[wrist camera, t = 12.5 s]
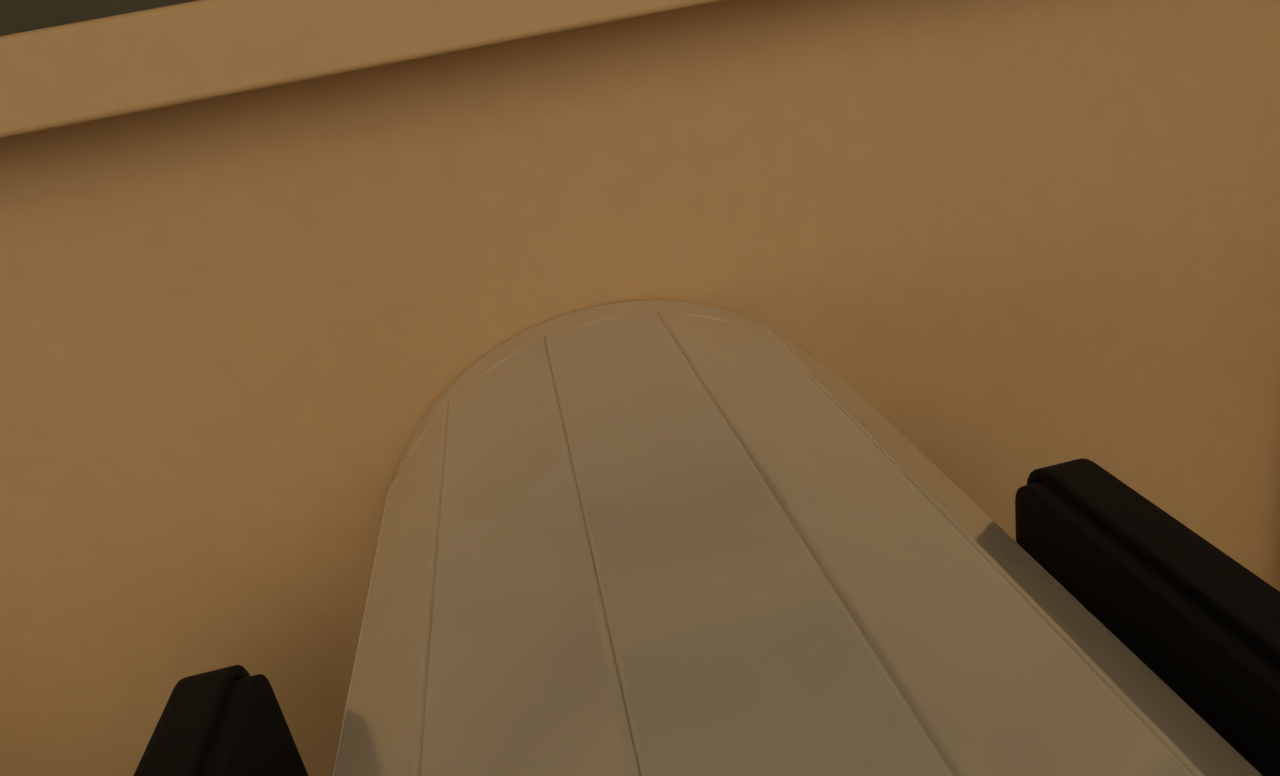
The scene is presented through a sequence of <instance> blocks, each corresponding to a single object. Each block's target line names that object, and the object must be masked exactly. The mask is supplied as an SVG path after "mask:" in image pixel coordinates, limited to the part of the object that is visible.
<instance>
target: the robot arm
mask: <svg viewBox="0 0 1280 776" xmlns="http://www.w3.org/2000/svg"><path fill="white" fill-rule="evenodd" d="M1015 522H1016V543H1017V544H1019V545H1020V546H1021V547H1022V548H1023V549H1024V550H1025V551H1026V552H1027V553H1028V554H1029V555H1030V556H1031V557H1032V558H1033V559H1034V560H1035V561H1036V562H1038V563H1039V564H1040V565H1041V566H1042V567H1043V568H1044V569H1045V570H1046V571H1047V572H1048V573H1049V574H1050V575H1051V576H1052V577H1053V578H1054V579H1055V580H1057V581H1058V582H1059V583H1060V584H1061V585H1062V586H1063V587H1064V588H1065V589H1066V590H1067V591H1068V592H1069V593H1070V594H1071V595H1072V596H1073V597H1074V598H1076V599H1077V600H1078V601H1079V602H1080V603H1081V604H1082V605H1083V606H1084V607H1085V608H1086V609H1087V610H1088V611H1089V612H1090V613H1091V614H1092V615H1093V616H1095V617H1096V618H1097V619H1098V620H1099V621H1100V622H1101V623H1102V624H1103V625H1104V626H1105V627H1106V628H1107V629H1108V630H1109V631H1110V632H1111V633H1112V634H1114V635H1115V636H1116V637H1117V638H1118V639H1119V640H1120V641H1121V642H1122V643H1123V644H1124V645H1125V646H1126V647H1127V648H1128V649H1129V650H1130V651H1131V652H1133V653H1134V654H1135V655H1136V656H1137V657H1138V658H1139V659H1140V660H1141V661H1142V662H1143V663H1144V664H1145V665H1146V666H1147V667H1148V668H1149V669H1150V670H1152V671H1153V672H1154V673H1155V674H1156V675H1157V676H1158V677H1159V678H1160V679H1161V680H1162V681H1163V682H1164V683H1165V684H1166V685H1167V686H1168V687H1169V688H1171V689H1172V690H1173V691H1174V692H1175V693H1176V694H1177V695H1178V696H1179V697H1180V698H1181V699H1182V700H1183V701H1184V702H1185V703H1186V704H1187V705H1188V706H1190V707H1191V708H1192V709H1193V710H1194V711H1195V712H1196V713H1197V714H1198V715H1199V716H1200V717H1201V718H1202V719H1203V720H1204V721H1205V722H1206V723H1207V724H1209V725H1210V726H1211V727H1212V728H1213V729H1214V730H1215V731H1216V732H1217V733H1218V734H1219V735H1220V736H1221V737H1222V738H1223V739H1224V740H1225V741H1226V742H1228V743H1229V744H1230V745H1231V746H1232V747H1233V748H1234V749H1235V750H1236V751H1237V752H1238V753H1239V754H1240V755H1241V756H1242V757H1243V758H1244V759H1245V760H1247V761H1248V762H1249V763H1250V764H1251V765H1252V766H1253V767H1254V768H1255V769H1256V770H1257V771H1258V772H1259V773H1260V774H1261V775H1262V776H1280V591H1278V590H1277V589H1275V588H1274V587H1272V586H1271V585H1270V584H1268V583H1267V582H1265V581H1264V580H1262V579H1261V578H1259V577H1258V576H1257V575H1255V574H1254V573H1252V572H1251V571H1249V570H1248V569H1247V568H1245V567H1244V566H1242V565H1241V564H1239V563H1238V562H1237V561H1235V560H1234V559H1232V558H1231V557H1229V556H1228V555H1226V554H1225V553H1224V552H1222V551H1221V550H1219V549H1218V548H1216V547H1215V546H1214V545H1212V544H1211V543H1209V542H1208V541H1206V540H1205V539H1204V538H1202V537H1201V536H1199V535H1198V534H1196V533H1195V532H1193V531H1192V530H1191V529H1189V528H1188V527H1186V526H1185V525H1183V524H1182V523H1181V522H1179V521H1178V520H1176V519H1175V518H1173V517H1172V516H1170V515H1169V514H1168V513H1166V512H1165V511H1163V510H1162V509H1160V508H1159V507H1158V506H1156V505H1155V504H1153V503H1152V502H1150V501H1149V500H1148V499H1146V498H1145V497H1143V496H1142V495H1140V494H1139V493H1137V492H1136V491H1135V490H1133V489H1132V488H1130V487H1129V486H1127V485H1126V484H1125V483H1123V482H1122V481H1120V480H1119V479H1117V478H1116V477H1115V476H1113V475H1112V474H1110V473H1109V472H1107V471H1106V470H1104V469H1103V468H1102V467H1100V466H1099V465H1097V464H1096V463H1094V462H1093V461H1091V460H1088V459H1086V458H1084V459H1076V460H1072V461H1068V462H1064V463H1060V464H1056V465H1052V466H1047V467H1043V468H1039V469H1035V470H1034V471H1032V472H1031V473H1030V475H1029V477H1028V479H1027V485H1026V486H1022V487H1020V488H1019V489H1018V490H1017V492H1016V497H1015ZM134 776H308V773H307V771H306V768H305V766H304V763H303V761H302V759H301V756H300V754H299V751H298V749H297V747H296V744H295V742H294V739H293V737H292V735H291V732H290V730H289V727H288V725H287V723H286V720H285V718H284V715H283V713H282V710H281V708H280V706H279V703H278V701H277V698H276V696H275V694H274V691H273V689H272V686H271V684H270V682H269V680H268V679H267V678H266V677H265V675H263V674H257V675H253V676H250V675H249V673H248V671H247V670H246V669H245V668H244V667H243V666H240V665H234V666H230V667H226V668H222V669H218V670H214V671H209V672H205V673H201V674H197V675H193V676H189V677H185V678H183V679H181V680H179V681H178V682H177V684H176V685H175V687H174V689H173V691H172V693H171V695H170V697H169V700H168V702H167V704H166V706H165V708H164V710H163V713H162V715H161V717H160V719H159V721H158V723H157V726H156V728H155V730H154V732H153V734H152V736H151V739H150V741H149V743H148V745H147V747H146V750H145V752H144V754H143V756H142V758H141V760H140V763H139V765H138V767H137V769H136V771H135V773H134Z"/></svg>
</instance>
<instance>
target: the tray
mask: <svg viewBox="0 0 1280 776" xmlns="http://www.w3.org/2000/svg"><path fill="white" fill-rule="evenodd" d="M647 300H670V301H679V302H689V303H698V304H703V305H707V306H712V307H716V308H720V309H724V310H728V311H732V312H735V313H738V314H740V315H743V316H745V317H748V318H750V319H753V320H755V321H758V322H760V323H763V324H765V325H767V326H768V327H770V328H772V329H774V330H776V331H777V332H779V333H781V334H783V335H784V336H786V337H788V338H790V339H791V340H793V341H794V342H795V343H797V344H798V345H799V346H800V347H802V348H803V349H804V350H806V351H807V352H808V353H809V354H811V355H812V356H813V357H815V358H816V359H817V360H818V361H819V362H820V363H821V364H822V365H823V366H824V367H825V368H827V369H828V370H830V371H831V372H833V373H834V374H836V375H837V376H839V377H840V378H842V379H843V380H845V381H846V382H847V383H849V384H850V385H851V386H852V387H853V388H854V389H855V390H856V391H857V392H858V393H859V394H860V395H861V396H862V397H863V398H864V399H865V400H866V401H868V402H869V403H870V404H871V405H872V406H873V407H874V408H875V409H876V410H877V411H878V412H879V413H880V414H881V415H882V416H883V417H884V418H885V419H887V420H888V421H889V422H890V423H891V424H892V425H893V426H894V427H895V428H896V429H897V430H898V431H899V432H900V433H901V434H902V435H903V436H904V437H906V438H907V439H908V440H909V441H910V442H911V443H912V444H913V445H914V446H915V447H916V448H917V449H918V450H919V451H920V452H921V453H922V454H924V455H925V456H926V457H927V458H928V459H929V460H930V461H931V462H932V463H933V464H934V465H935V466H936V467H937V468H938V469H939V470H940V471H941V472H943V473H944V474H945V475H946V476H947V477H948V478H949V479H950V480H951V481H952V482H953V483H954V484H955V485H956V486H957V487H958V488H959V489H960V490H962V491H963V492H964V493H965V494H966V495H967V496H968V497H969V498H970V499H971V500H972V501H973V502H974V503H975V504H976V505H977V506H978V507H979V508H981V509H982V510H983V511H984V512H985V513H986V514H987V515H988V516H989V517H990V518H991V519H992V520H993V521H994V522H995V523H996V524H997V525H998V526H1000V527H1001V528H1002V529H1003V530H1004V531H1005V532H1006V533H1007V534H1008V535H1009V536H1010V537H1011V538H1012V539H1013V540H1014V541H1015V542H1016V522H1015V497H1016V492H1017V490H1018V489H1019V488H1020V487H1022V486H1026V485H1027V479H1028V477H1029V475H1030V473H1031V472H1032V471H1034V470H1035V469H1039V468H1043V467H1047V466H1052V465H1056V464H1060V463H1064V462H1068V461H1072V460H1076V459H1084V458H1086V459H1088V460H1091V461H1093V462H1094V463H1096V464H1097V465H1099V466H1100V467H1102V468H1103V469H1104V470H1106V471H1107V472H1109V473H1110V474H1112V475H1113V476H1115V477H1116V478H1117V479H1119V480H1120V481H1122V482H1123V483H1125V484H1126V485H1127V486H1129V487H1130V488H1132V489H1133V490H1135V491H1136V492H1137V493H1139V494H1140V495H1142V496H1143V497H1145V498H1146V499H1148V500H1149V501H1150V502H1152V503H1153V504H1155V505H1156V506H1158V507H1159V508H1160V509H1162V510H1163V511H1165V512H1166V513H1168V514H1169V515H1170V516H1172V517H1173V518H1175V519H1176V520H1178V521H1179V522H1181V523H1182V524H1183V525H1185V526H1186V527H1188V528H1189V529H1191V530H1192V531H1193V532H1195V533H1196V534H1198V535H1199V536H1201V537H1202V538H1204V539H1205V540H1206V541H1208V542H1209V543H1211V544H1212V545H1214V546H1215V547H1216V548H1218V549H1219V550H1221V551H1222V552H1224V553H1225V554H1226V555H1228V556H1229V557H1231V558H1232V559H1234V560H1235V561H1237V562H1238V563H1239V564H1241V565H1242V566H1244V567H1245V568H1247V569H1248V570H1249V571H1251V572H1252V573H1254V574H1255V575H1257V576H1258V577H1259V578H1261V579H1262V580H1264V581H1265V582H1267V583H1268V584H1270V585H1271V586H1272V587H1274V588H1275V589H1277V590H1278V591H1280V0H198V1H192V2H187V3H181V4H175V5H170V6H164V7H159V8H153V9H148V10H142V11H137V12H131V13H126V14H120V15H115V16H109V17H104V18H98V19H93V20H87V21H82V22H76V23H71V24H65V25H60V26H54V27H49V28H43V29H38V30H32V31H27V32H21V33H15V34H10V35H4V36H0V776H134V773H135V771H136V769H137V767H138V765H139V763H140V760H141V758H142V756H143V754H144V752H145V750H146V747H147V745H148V743H149V741H150V739H151V736H152V734H153V732H154V730H155V728H156V726H157V723H158V721H159V719H160V717H161V715H162V713H163V710H164V708H165V706H166V704H167V702H168V700H169V697H170V695H171V693H172V691H173V689H174V687H175V685H176V684H177V682H178V681H179V680H181V679H183V678H185V677H189V676H193V675H197V674H201V673H205V672H209V671H214V670H218V669H222V668H226V667H230V666H234V665H240V666H243V667H244V668H245V669H246V670H247V671H248V673H249V675H250V676H253V675H257V674H263V675H265V677H266V678H267V679H268V680H269V682H270V684H271V686H272V689H273V691H274V694H275V696H276V698H277V701H278V703H279V706H280V708H281V710H282V713H283V715H284V718H285V720H286V723H287V725H288V727H289V730H290V732H291V735H292V737H293V739H294V742H295V744H296V747H297V749H298V751H299V754H300V756H301V759H302V761H303V763H304V766H305V768H306V771H307V773H308V776H331V775H332V770H333V765H334V760H335V755H336V750H337V745H338V739H339V734H340V729H341V724H342V719H343V714H344V709H345V704H346V699H347V693H348V688H349V683H350V678H351V673H352V668H353V663H354V658H355V653H356V647H357V642H358V637H359V632H360V627H361V622H362V617H363V612H364V607H365V601H366V596H367V591H368V586H369V581H370V576H371V571H372V566H373V561H374V555H375V550H376V545H377V540H378V535H379V530H380V525H381V520H382V515H383V509H384V504H385V499H386V495H387V494H388V491H389V487H390V485H391V484H392V481H393V478H394V476H395V473H396V471H397V468H398V465H399V463H400V460H401V457H402V455H403V452H404V451H405V449H406V447H407V445H408V443H409V442H410V440H411V438H412V436H413V434H414V433H415V431H416V429H417V427H418V425H419V424H420V422H421V421H422V420H423V418H424V417H425V416H426V414H427V413H428V412H429V410H430V409H431V408H432V406H433V405H434V404H435V402H436V401H437V400H438V398H439V397H440V396H441V395H442V394H443V393H444V392H445V391H446V390H447V389H448V388H449V387H450V386H451V385H452V384H453V383H454V382H455V381H456V380H457V379H458V378H459V377H460V376H461V375H462V374H463V373H464V372H465V371H466V370H467V369H469V368H470V367H471V366H472V365H474V364H475V363H476V362H478V361H479V360H480V359H481V358H483V357H484V356H485V355H487V354H488V353H489V352H491V351H492V350H493V349H495V348H496V347H498V346H500V345H502V344H503V343H505V342H507V341H508V340H510V339H512V338H513V337H515V336H517V335H519V334H520V333H522V332H524V331H526V330H528V329H530V328H533V327H535V326H537V325H540V324H542V323H544V322H547V321H549V320H551V319H554V318H556V317H558V316H562V315H565V314H569V313H572V312H576V311H579V310H583V309H586V308H590V307H593V306H600V305H606V304H613V303H619V302H626V301H647Z"/></svg>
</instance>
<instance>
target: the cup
mask: <svg viewBox="0 0 1280 776" xmlns="http://www.w3.org/2000/svg"><path fill="white" fill-rule="evenodd" d="M331 776H1262V775H1261V774H1260V773H1259V772H1258V771H1257V770H1256V769H1255V768H1254V767H1253V766H1252V765H1251V764H1250V763H1249V762H1248V761H1247V760H1245V759H1244V758H1243V757H1242V756H1241V755H1240V754H1239V753H1238V752H1237V751H1236V750H1235V749H1234V748H1233V747H1232V746H1231V745H1230V744H1229V743H1228V742H1226V741H1225V740H1224V739H1223V738H1222V737H1221V736H1220V735H1219V734H1218V733H1217V732H1216V731H1215V730H1214V729H1213V728H1212V727H1211V726H1210V725H1209V724H1207V723H1206V722H1205V721H1204V720H1203V719H1202V718H1201V717H1200V716H1199V715H1198V714H1197V713H1196V712H1195V711H1194V710H1193V709H1192V708H1191V707H1190V706H1188V705H1187V704H1186V703H1185V702H1184V701H1183V700H1182V699H1181V698H1180V697H1179V696H1178V695H1177V694H1176V693H1175V692H1174V691H1173V690H1172V689H1171V688H1169V687H1168V686H1167V685H1166V684H1165V683H1164V682H1163V681H1162V680H1161V679H1160V678H1159V677H1158V676H1157V675H1156V674H1155V673H1154V672H1153V671H1152V670H1150V669H1149V668H1148V667H1147V666H1146V665H1145V664H1144V663H1143V662H1142V661H1141V660H1140V659H1139V658H1138V657H1137V656H1136V655H1135V654H1134V653H1133V652H1131V651H1130V650H1129V649H1128V648H1127V647H1126V646H1125V645H1124V644H1123V643H1122V642H1121V641H1120V640H1119V639H1118V638H1117V637H1116V636H1115V635H1114V634H1112V633H1111V632H1110V631H1109V630H1108V629H1107V628H1106V627H1105V626H1104V625H1103V624H1102V623H1101V622H1100V621H1099V620H1098V619H1097V618H1096V617H1095V616H1093V615H1092V614H1091V613H1090V612H1089V611H1088V610H1087V609H1086V608H1085V607H1084V606H1083V605H1082V604H1081V603H1080V602H1079V601H1078V600H1077V599H1076V598H1074V597H1073V596H1072V595H1071V594H1070V593H1069V592H1068V591H1067V590H1066V589H1065V588H1064V587H1063V586H1062V585H1061V584H1060V583H1059V582H1058V581H1057V580H1055V579H1054V578H1053V577H1052V576H1051V575H1050V574H1049V573H1048V572H1047V571H1046V570H1045V569H1044V568H1043V567H1042V566H1041V565H1040V564H1039V563H1038V562H1036V561H1035V560H1034V559H1033V558H1032V557H1031V556H1030V555H1029V554H1028V553H1027V552H1026V551H1025V550H1024V549H1023V548H1022V547H1021V546H1020V545H1019V544H1017V543H1016V542H1015V541H1014V540H1013V539H1012V538H1011V537H1010V536H1009V535H1008V534H1007V533H1006V532H1005V531H1004V530H1003V529H1002V528H1001V527H1000V526H998V525H997V524H996V523H995V522H994V521H993V520H992V519H991V518H990V517H989V516H988V515H987V514H986V513H985V512H984V511H983V510H982V509H981V508H979V507H978V506H977V505H976V504H975V503H974V502H973V501H972V500H971V499H970V498H969V497H968V496H967V495H966V494H965V493H964V492H963V491H962V490H960V489H959V488H958V487H957V486H956V485H955V484H954V483H953V482H952V481H951V480H950V479H949V478H948V477H947V476H946V475H945V474H944V473H943V472H941V471H940V470H939V469H938V468H937V467H936V466H935V465H934V464H933V463H932V462H931V461H930V460H929V459H928V458H927V457H926V456H925V455H924V454H922V453H921V452H920V451H919V450H918V449H917V448H916V447H915V446H914V445H913V444H912V443H911V442H910V441H909V440H908V439H907V438H906V437H904V436H903V435H902V434H901V433H900V432H899V431H898V430H897V429H896V428H895V427H894V426H893V425H892V424H891V423H890V422H889V421H888V420H887V419H885V418H884V417H883V416H882V415H881V414H880V413H879V412H878V411H877V410H876V409H875V408H874V407H873V406H872V405H871V404H870V403H869V402H868V401H866V400H865V399H864V398H863V397H862V396H861V395H860V394H859V393H858V392H857V391H856V390H855V389H854V388H853V387H852V386H851V385H850V384H849V383H847V382H846V381H845V380H843V379H842V378H840V377H839V376H837V375H836V374H834V373H833V372H831V371H830V370H828V369H827V368H825V367H824V366H823V365H822V364H821V363H820V362H819V361H818V360H817V359H816V358H815V357H813V356H812V355H811V354H809V353H808V352H807V351H806V350H804V349H803V348H802V347H800V346H799V345H798V344H797V343H795V342H794V341H793V340H791V339H790V338H788V337H786V336H784V335H783V334H781V333H779V332H777V331H776V330H774V329H772V328H770V327H768V326H767V325H765V324H763V323H760V322H758V321H755V320H753V319H750V318H748V317H745V316H743V315H740V314H738V313H735V312H732V311H728V310H724V309H720V308H716V307H712V306H707V305H703V304H698V303H689V302H679V301H670V300H647V301H626V302H619V303H613V304H606V305H600V306H593V307H590V308H586V309H583V310H579V311H576V312H572V313H569V314H565V315H562V316H558V317H556V318H554V319H551V320H549V321H547V322H544V323H542V324H540V325H537V326H535V327H533V328H530V329H528V330H526V331H524V332H522V333H520V334H519V335H517V336H515V337H513V338H512V339H510V340H508V341H507V342H505V343H503V344H502V345H500V346H498V347H496V348H495V349H493V350H492V351H491V352H489V353H488V354H487V355H485V356H484V357H483V358H481V359H480V360H479V361H478V362H476V363H475V364H474V365H472V366H471V367H470V368H469V369H467V370H466V371H465V372H464V373H463V374H462V375H461V376H460V377H459V378H458V379H457V380H456V381H455V382H454V383H453V384H452V385H451V386H450V387H449V388H448V389H447V390H446V391H445V392H444V393H443V394H442V395H441V396H440V397H439V398H438V400H437V401H436V402H435V404H434V405H433V406H432V408H431V409H430V410H429V412H428V413H427V414H426V416H425V417H424V418H423V420H422V421H421V422H420V424H419V425H418V427H417V429H416V431H415V433H414V434H413V436H412V438H411V440H410V442H409V443H408V445H407V447H406V449H405V451H404V452H403V455H402V457H401V460H400V463H399V465H398V468H397V471H396V473H395V476H394V478H393V481H392V484H391V485H390V487H389V491H388V494H387V495H386V499H385V504H384V509H383V515H382V520H381V525H380V530H379V535H378V540H377V545H376V550H375V555H374V561H373V566H372V571H371V576H370V581H369V586H368V591H367V596H366V601H365V607H364V612H363V617H362V622H361V627H360V632H359V637H358V642H357V647H356V653H355V658H354V663H353V668H352V673H351V678H350V683H349V688H348V693H347V699H346V704H345V709H344V714H343V719H342V724H341V729H340V734H339V739H338V745H337V750H336V755H335V760H334V765H333V770H332V775H331Z"/></svg>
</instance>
